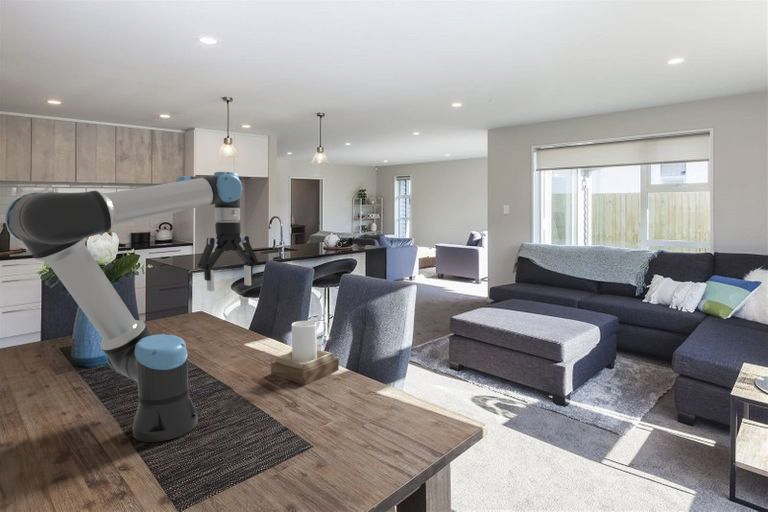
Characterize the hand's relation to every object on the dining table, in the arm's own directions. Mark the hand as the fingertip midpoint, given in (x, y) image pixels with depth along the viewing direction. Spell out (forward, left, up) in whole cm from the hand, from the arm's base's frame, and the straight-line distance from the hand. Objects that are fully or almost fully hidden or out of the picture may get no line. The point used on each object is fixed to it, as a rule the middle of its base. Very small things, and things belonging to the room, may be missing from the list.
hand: (230, 287), depth 144 cm
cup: (+17, -15, -29) cm, 37 cm away
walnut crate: (+17, -15, -31) cm, 39 cm away
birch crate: (+17, -15, -30) cm, 38 cm away
